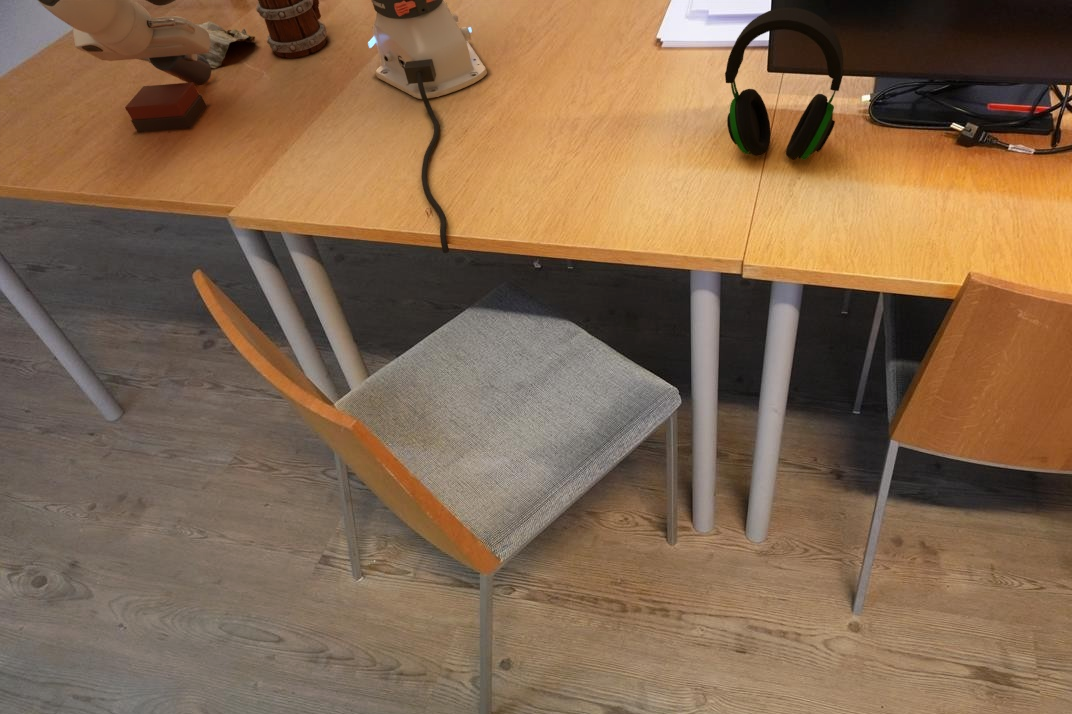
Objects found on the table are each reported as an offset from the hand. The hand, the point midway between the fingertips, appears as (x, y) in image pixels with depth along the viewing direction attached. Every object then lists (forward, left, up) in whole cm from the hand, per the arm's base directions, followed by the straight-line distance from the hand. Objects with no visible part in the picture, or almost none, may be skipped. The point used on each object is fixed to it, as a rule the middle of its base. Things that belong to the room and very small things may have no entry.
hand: (175, 58), depth 141 cm
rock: (+18, -7, -7) cm, 20 cm away
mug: (+5, -24, -7) cm, 26 cm away
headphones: (-88, -67, -7) cm, 111 cm away
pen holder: (+4, -3, -5) cm, 7 cm away
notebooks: (-8, +5, -7) cm, 12 cm away
